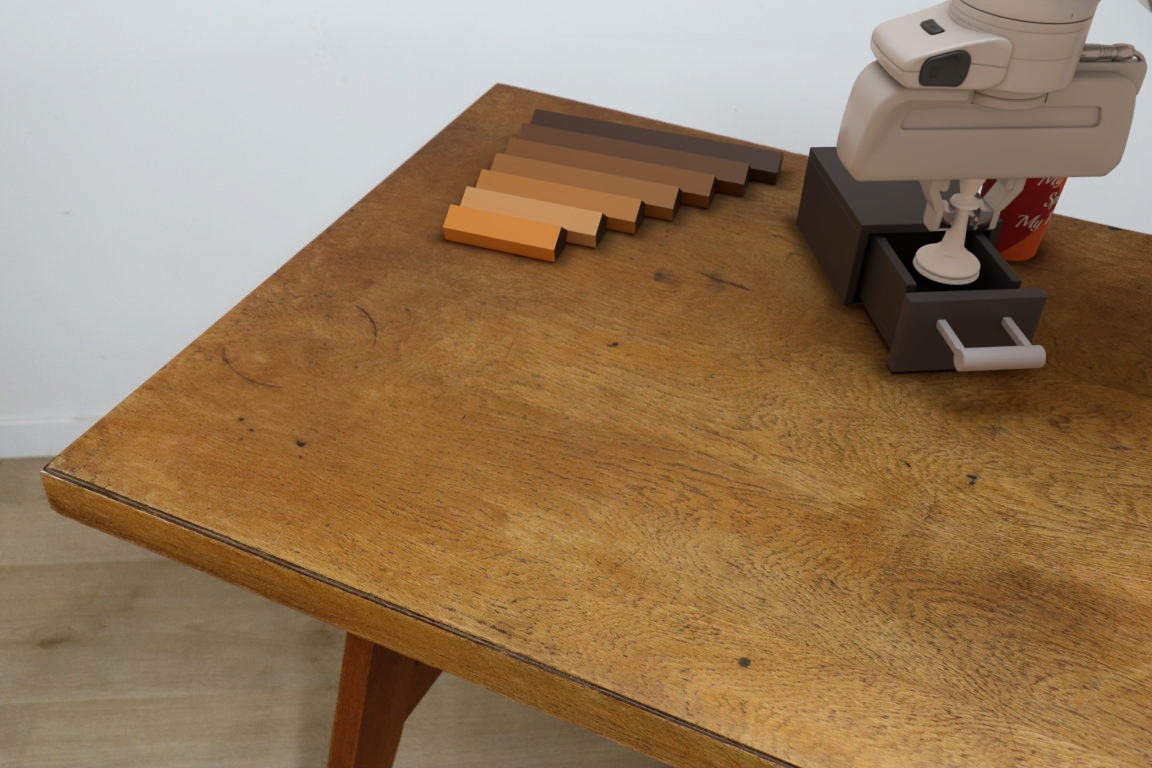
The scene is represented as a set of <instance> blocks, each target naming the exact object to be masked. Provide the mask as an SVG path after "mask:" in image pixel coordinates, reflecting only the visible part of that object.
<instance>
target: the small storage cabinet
mask: <svg viewBox="0 0 1152 768" xmlns="http://www.w3.org/2000/svg"><path fill="white" fill-rule="evenodd" d="M958 193H960V180H959V179H955V180H951V181H950V185H949V188H948V190H947V191H943V192H942V191H941V190H940V195H941V198H942V200H947V201H948V203H949V204H950V206H951V207H953V209H954V210H956V207H955V206H953V205H952V204H951V203H950V198H951V197H952V196H953V195H954V194H958ZM800 195H801V196H800V199H799V206H798V210H797V216H796V222H795V223H796V225H797V227H798V229H799V230H800V232H801V233H802V234H801V235H802V236H803V238H804V239H805V241H806V243H807V245H808V247H809V248H810V250H811V251H812V253H813V255H814V257H815V259H816V260H817V262H818V264H819V265H820V267H821V269H822V271H823V272H824V274H825V276H826V278H827V279H828V281H829V283H830V285H831V286H832V288H833V290H834V292H835V294H836V295H837V297H838V299H839V301H840V302H841V303H842V305H843V306H846V307H847V306H849V307H850V306H864V304H863V303H862V301H861V299H860V298H859V296H858V294H857V293H856V288H857V284H858V280H859V275H860V271H861V267H862V263H863V258H864V254H865V250H866V245H867V241H868V237H869V234H872V233H907V232H942V231H929V230H928V228H927V227H926V226H925V224H924V221H923V217H924V213H925V209H926V205H927V200H926V198H925V195H924V192H923V190H922V187H921V184H920V181H919V180H905V181H857V180H855V179H854V178H853V177H852V176H851V174H850V173H849V172H848V171H847V170H846V168H845V167H844V166H843V164H842V162H841V161H840V159H839V157H838V154H837V150H836V146H810V147H809V152H808V158H807V164H806V169H805V173H804V177H803V183H802V190H801V193H800ZM974 197H976V198H977V199H983V197H982V196H981V195H980V193H979V191H978V192H977V193H976V195H975V196H974ZM970 211H971V210H970ZM970 211H969V212H970ZM1002 224H1003V220H1002V219H1001V218H1000V217H999V218H998V221H997V224H996V227H995V228H994V229H985V230H981V231H982V233H983V234H984V235H985V236H986V238H987V239H988V240H989V241H990V242H991V244H992V245H993V246H994V247H995V246H996V243H997V239H998V236H999V233H1000V230H1001V227H1002ZM966 231H977V230H974V229H973V228H972V225H970V224H969V223H968V222H967V228H966Z"/></svg>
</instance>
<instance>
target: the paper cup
mask: <svg viewBox="0 0 1152 768" xmlns="http://www.w3.org/2000/svg"><path fill="white" fill-rule="evenodd" d="M1068 178H1069V177H1057V178H1027V179H1026V182H1025V185H1024V188H1023V190H1022V191H1021V192H1020V193H1019V194H1018V195H1017V196H1016V197H1015V198H1014V199H1013V200H1012V201H1011V202H1010V203H1009V204H1008V205H1007V206H1006V207H1005V208H1004V209H1003V210H1001V212H1000V215H999V217H1000V218H1001V219H1002V220H1003V224H1002V227H1001V230H1000V233H999V236H998V239H997V243H996V246H995V248H996V250H997V251H998V252H999V253H1000V254H1001V256H1002V257H1003V258H1004V259H1005V261H1008V262H1009V261H1011V262H1019V261H1027V260H1029V259H1031V258H1033V257H1034V256H1035V255H1036V253H1037V252H1038V248H1039V246H1040V244H1041V242H1042V241H1043V240H1042V239H1043V237H1044V235H1045V232H1046V231H1047V228H1048V226H1049V223H1050V221H1051V218H1052V216H1053V214H1054V212H1055V209H1056V207H1057V204H1058V202H1059V199H1060V198H1061V195H1062V193H1063V190H1064V187H1065V185H1066V183H1067V180H1068ZM996 182H997V179H986V181H985V182H984V183H983V185H982V186H981V188H980V193H979V194H980V195H981V196H982V197H984V196H985V195H986V194H987V192H988V191H989V190H990V189H991V188H992V186H993V185H994V184H995V183H996Z"/></svg>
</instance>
